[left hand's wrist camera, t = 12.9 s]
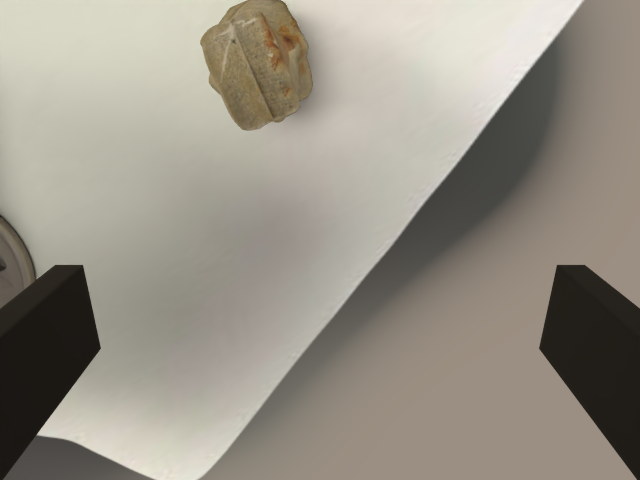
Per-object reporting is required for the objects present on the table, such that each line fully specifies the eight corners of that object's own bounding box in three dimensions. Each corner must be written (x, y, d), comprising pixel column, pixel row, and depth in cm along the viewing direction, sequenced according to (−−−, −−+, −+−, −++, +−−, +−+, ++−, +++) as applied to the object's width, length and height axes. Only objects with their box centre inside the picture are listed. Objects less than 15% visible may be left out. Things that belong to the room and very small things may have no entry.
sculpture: (253, 114, 36) (211, 151, 22) (219, 17, 33) (147, -10, 20) (323, 91, 35) (326, 115, 22) (295, -9, 33) (277, -56, 19)
